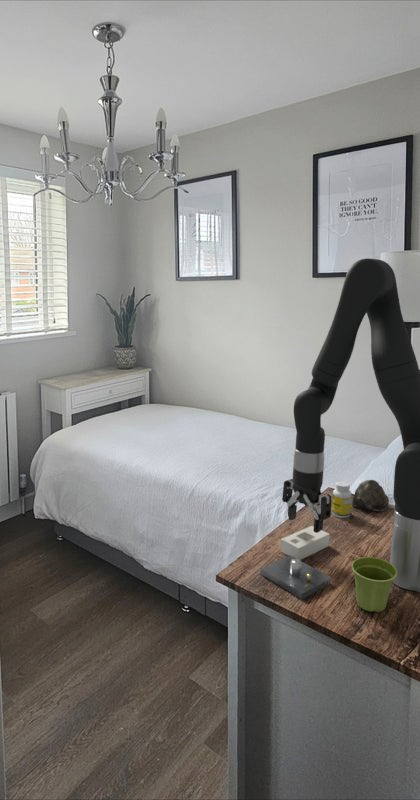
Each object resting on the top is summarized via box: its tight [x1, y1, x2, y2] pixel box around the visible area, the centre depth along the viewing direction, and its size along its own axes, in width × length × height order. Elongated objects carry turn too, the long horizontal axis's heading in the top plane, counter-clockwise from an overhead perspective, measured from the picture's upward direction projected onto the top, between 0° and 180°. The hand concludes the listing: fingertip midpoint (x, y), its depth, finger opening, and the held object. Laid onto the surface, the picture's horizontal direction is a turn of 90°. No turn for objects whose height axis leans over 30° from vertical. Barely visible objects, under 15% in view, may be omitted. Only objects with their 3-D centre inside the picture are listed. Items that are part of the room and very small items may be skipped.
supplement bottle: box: [331, 480, 353, 519], centre depth 155 cm, size 5×5×10 cm
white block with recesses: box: [280, 525, 331, 561], centre depth 136 cm, size 12×6×4 cm, turn 128°
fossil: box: [351, 479, 390, 514], centre depth 161 cm, size 11×9×10 cm
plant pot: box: [351, 556, 397, 613], centre depth 112 cm, size 9×9×9 cm
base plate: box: [260, 555, 332, 600], centre depth 122 cm, size 13×10×4 cm
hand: (304, 525), depth 135 cm, fingers open, 8 cm apart
